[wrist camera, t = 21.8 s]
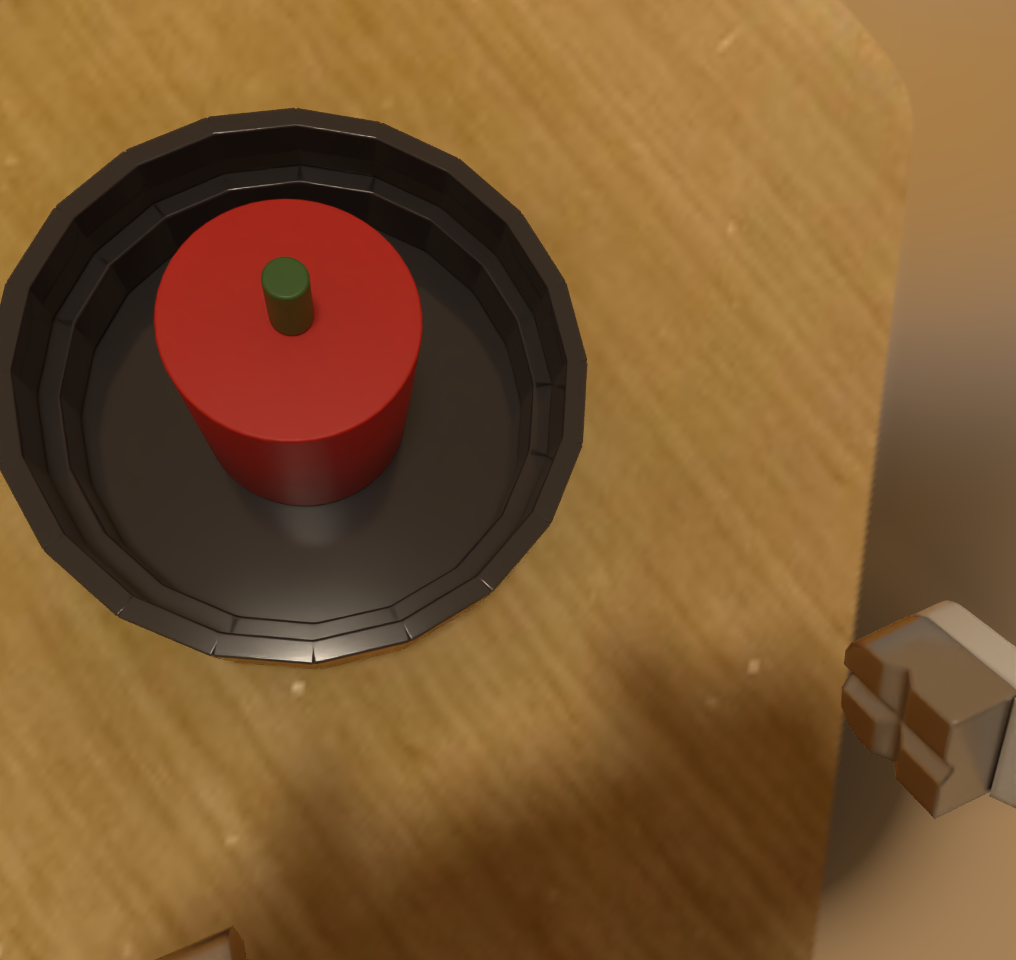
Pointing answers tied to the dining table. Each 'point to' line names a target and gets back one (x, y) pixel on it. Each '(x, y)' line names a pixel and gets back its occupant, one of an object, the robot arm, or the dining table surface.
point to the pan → (188, 457)
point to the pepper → (292, 346)
